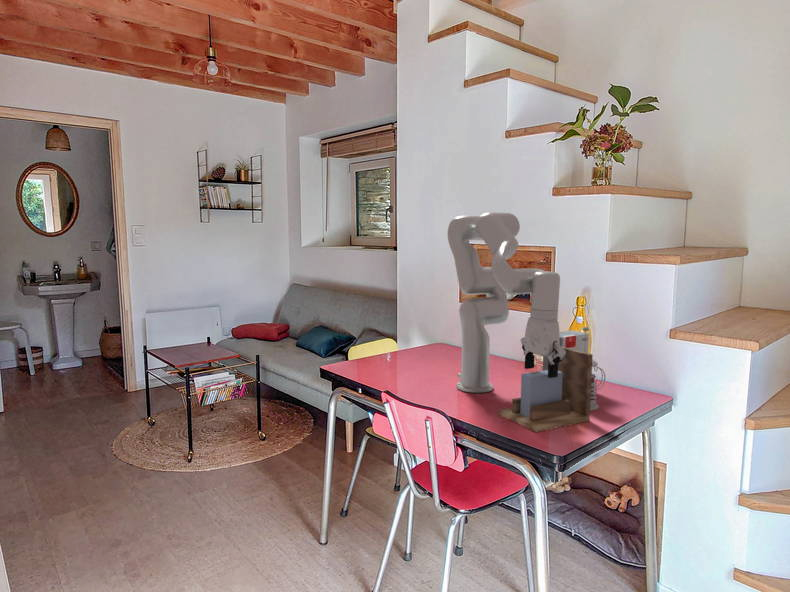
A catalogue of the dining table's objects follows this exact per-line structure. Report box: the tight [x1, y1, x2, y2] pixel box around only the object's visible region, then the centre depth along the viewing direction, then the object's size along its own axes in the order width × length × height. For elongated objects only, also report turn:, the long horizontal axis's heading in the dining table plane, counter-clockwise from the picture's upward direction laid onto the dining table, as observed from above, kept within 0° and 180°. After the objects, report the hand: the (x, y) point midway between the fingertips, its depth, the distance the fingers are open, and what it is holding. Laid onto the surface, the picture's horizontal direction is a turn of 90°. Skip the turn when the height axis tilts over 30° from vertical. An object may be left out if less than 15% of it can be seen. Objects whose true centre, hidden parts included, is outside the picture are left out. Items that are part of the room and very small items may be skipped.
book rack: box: [498, 347, 593, 433], centre depth 155 cm, size 16×20×20 cm
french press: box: [581, 326, 606, 411], centre depth 167 cm, size 10×12×25 cm
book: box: [520, 370, 563, 418], centre depth 155 cm, size 4×12×12 cm, turn 118°
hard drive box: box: [541, 330, 590, 371], centre depth 183 cm, size 16×8×20 cm, turn 126°
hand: (540, 372), depth 155 cm, fingers open, 9 cm apart
